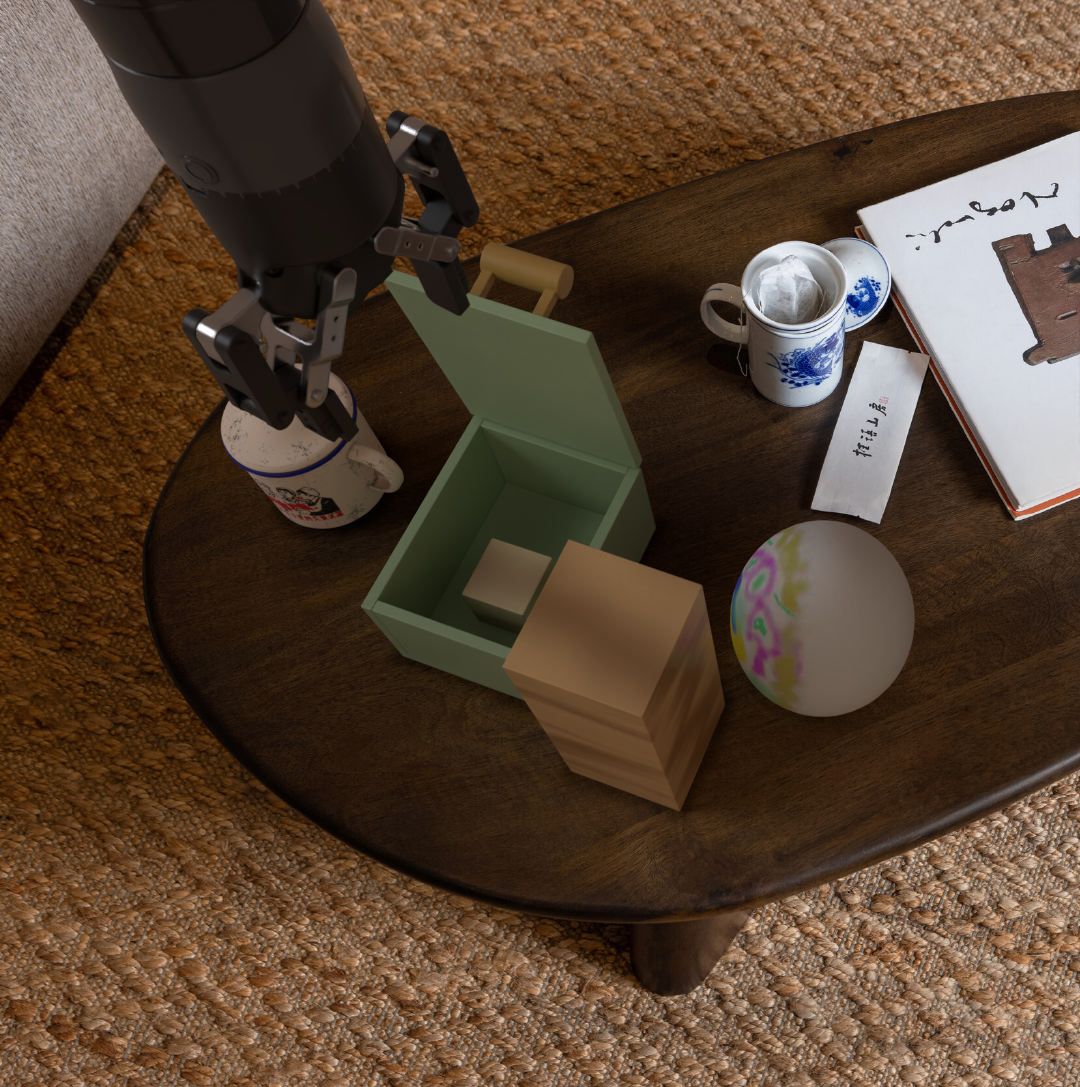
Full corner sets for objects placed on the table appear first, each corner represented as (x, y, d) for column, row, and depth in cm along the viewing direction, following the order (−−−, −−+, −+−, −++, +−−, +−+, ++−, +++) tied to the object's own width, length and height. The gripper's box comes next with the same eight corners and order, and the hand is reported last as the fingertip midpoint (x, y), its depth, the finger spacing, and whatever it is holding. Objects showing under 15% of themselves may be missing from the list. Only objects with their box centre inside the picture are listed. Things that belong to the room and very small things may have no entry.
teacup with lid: (247, 511, 88) (172, 427, 77) (312, 414, 92) (249, 322, 81) (390, 562, 86) (333, 484, 76) (450, 462, 90) (403, 374, 80)
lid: (586, 343, 64) (626, 264, 66) (380, 278, 66) (424, 202, 68) (638, 469, 79) (669, 402, 81) (470, 414, 81) (504, 349, 83)
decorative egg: (738, 573, 86) (726, 470, 73) (905, 575, 87) (923, 473, 73) (731, 735, 81) (716, 656, 67) (909, 737, 81) (929, 658, 68)
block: (537, 641, 83) (522, 615, 79) (478, 620, 83) (460, 594, 79) (565, 585, 85) (552, 557, 81) (507, 565, 85) (491, 537, 81)
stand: (680, 812, 78) (642, 717, 61) (570, 771, 80) (501, 666, 62) (725, 704, 82) (702, 584, 64) (620, 666, 83) (568, 538, 65)
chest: (565, 715, 81) (538, 671, 73) (402, 656, 83) (359, 606, 75) (656, 527, 88) (641, 468, 80) (504, 476, 90) (474, 412, 82)
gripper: (308, -38, 47) (426, 238, 61) (36, 197, 41) (237, 440, 56) (460, 30, 45) (544, 297, 60) (198, 283, 40) (361, 510, 54)
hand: (396, 365), depth 58 cm, fingers open, 8 cm apart
